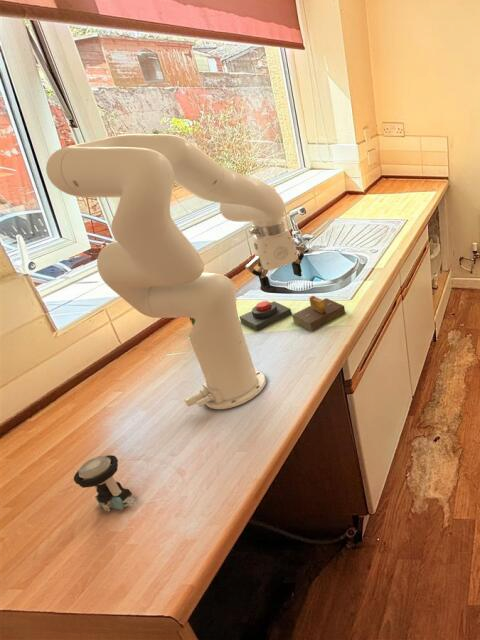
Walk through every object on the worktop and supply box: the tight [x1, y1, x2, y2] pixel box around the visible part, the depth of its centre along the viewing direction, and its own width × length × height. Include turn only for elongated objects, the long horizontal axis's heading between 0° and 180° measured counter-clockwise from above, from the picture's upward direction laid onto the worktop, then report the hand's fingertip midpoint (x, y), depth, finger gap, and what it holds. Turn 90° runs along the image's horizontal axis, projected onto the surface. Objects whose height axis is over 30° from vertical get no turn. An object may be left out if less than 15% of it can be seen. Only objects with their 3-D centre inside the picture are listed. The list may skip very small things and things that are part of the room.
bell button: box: [255, 300, 271, 311], centre depth 124 cm, size 4×4×2 cm
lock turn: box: [309, 295, 325, 313], centre depth 125 cm, size 5×1×4 cm, turn 59°
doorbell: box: [239, 301, 293, 332], centre depth 125 cm, size 11×9×4 cm
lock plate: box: [292, 298, 346, 332], centre depth 126 cm, size 12×9×3 cm
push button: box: [73, 454, 138, 512], centre depth 69 cm, size 7×5×10 cm
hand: (282, 281), depth 121 cm, fingers open, 9 cm apart
